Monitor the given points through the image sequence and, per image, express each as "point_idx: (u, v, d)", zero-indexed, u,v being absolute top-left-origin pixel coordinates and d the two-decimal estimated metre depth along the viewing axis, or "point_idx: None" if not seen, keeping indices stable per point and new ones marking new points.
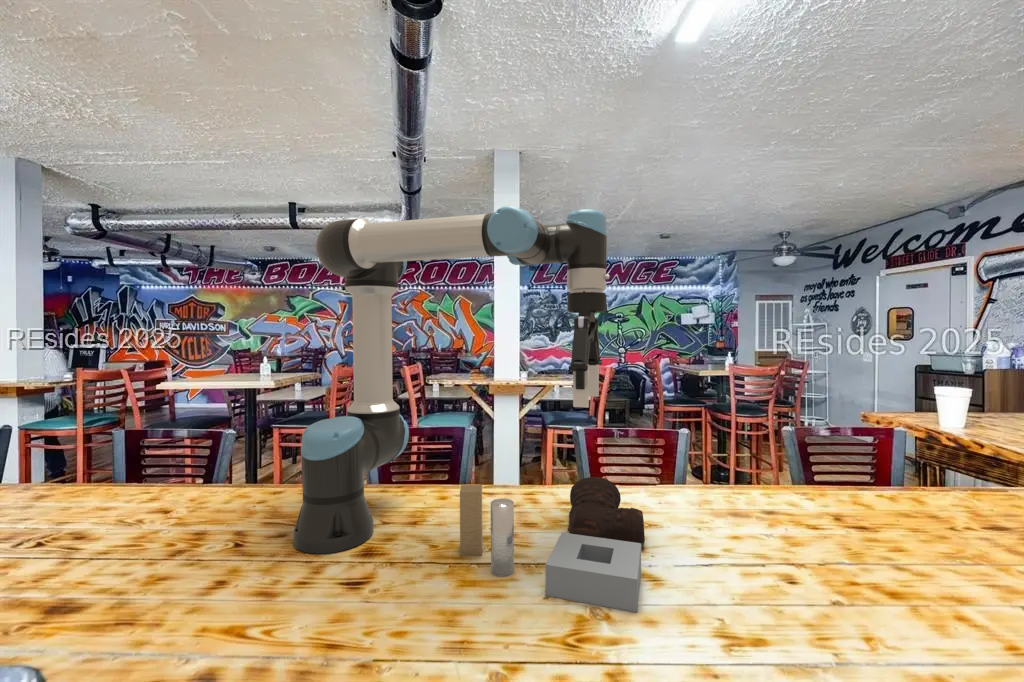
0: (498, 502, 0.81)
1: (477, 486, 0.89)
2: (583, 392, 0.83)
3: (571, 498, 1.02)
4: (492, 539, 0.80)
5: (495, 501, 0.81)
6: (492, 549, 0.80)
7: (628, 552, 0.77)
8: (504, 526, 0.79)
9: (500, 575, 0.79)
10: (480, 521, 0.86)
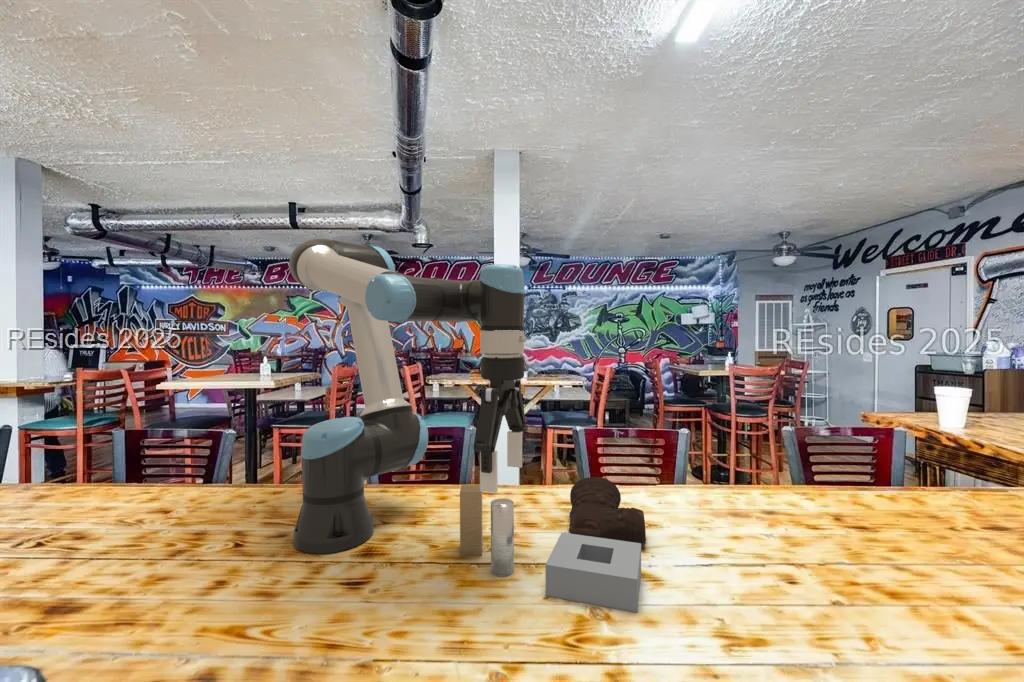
0: (498, 502, 0.81)
1: (477, 486, 0.89)
2: (490, 475, 0.73)
3: (571, 498, 1.02)
4: (492, 539, 0.80)
5: (495, 501, 0.81)
6: (492, 549, 0.80)
7: (628, 552, 0.77)
8: (504, 526, 0.79)
9: (500, 575, 0.79)
10: (480, 521, 0.86)
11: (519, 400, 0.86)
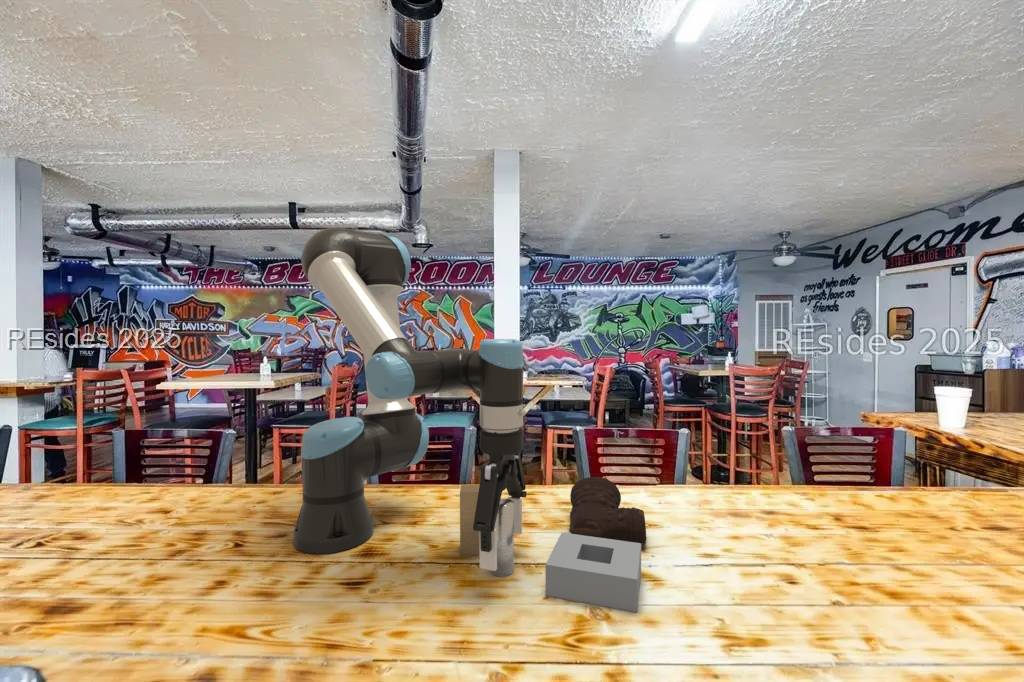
0: None
1: (477, 486, 0.89)
2: (490, 553, 0.74)
3: (571, 498, 1.02)
4: None
5: None
6: None
7: (628, 552, 0.77)
8: (504, 526, 0.79)
9: (500, 575, 0.79)
10: None
11: (519, 467, 0.86)
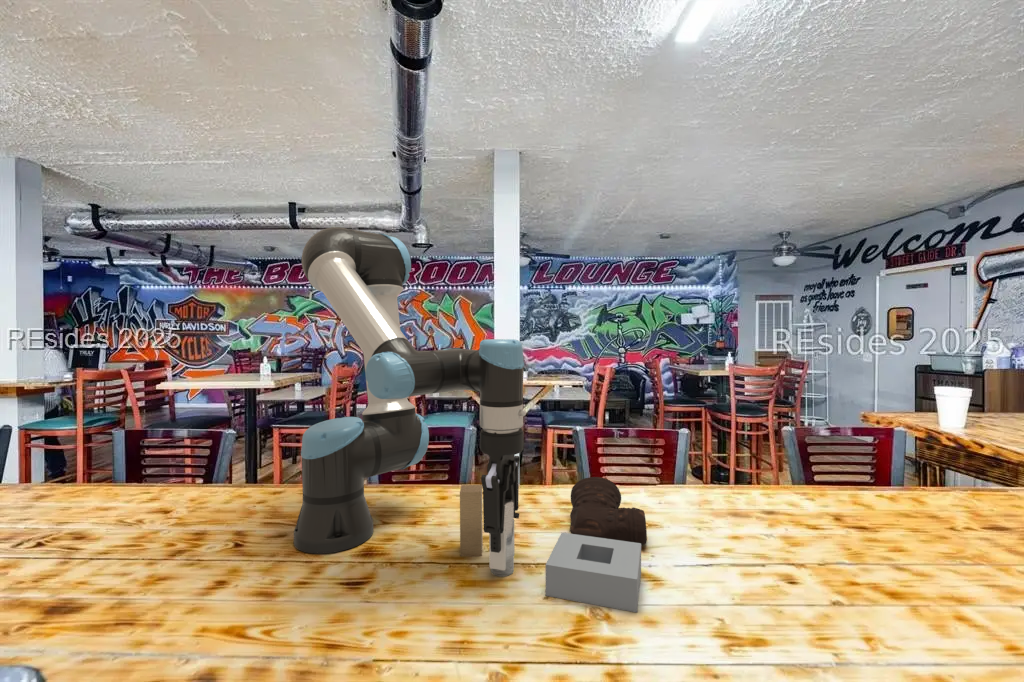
0: None
1: (477, 486, 0.89)
2: (499, 554, 0.78)
3: (572, 498, 1.02)
4: None
5: None
6: None
7: (628, 552, 0.77)
8: (504, 526, 0.79)
9: (500, 575, 0.79)
10: (480, 521, 0.86)
11: (515, 477, 0.85)
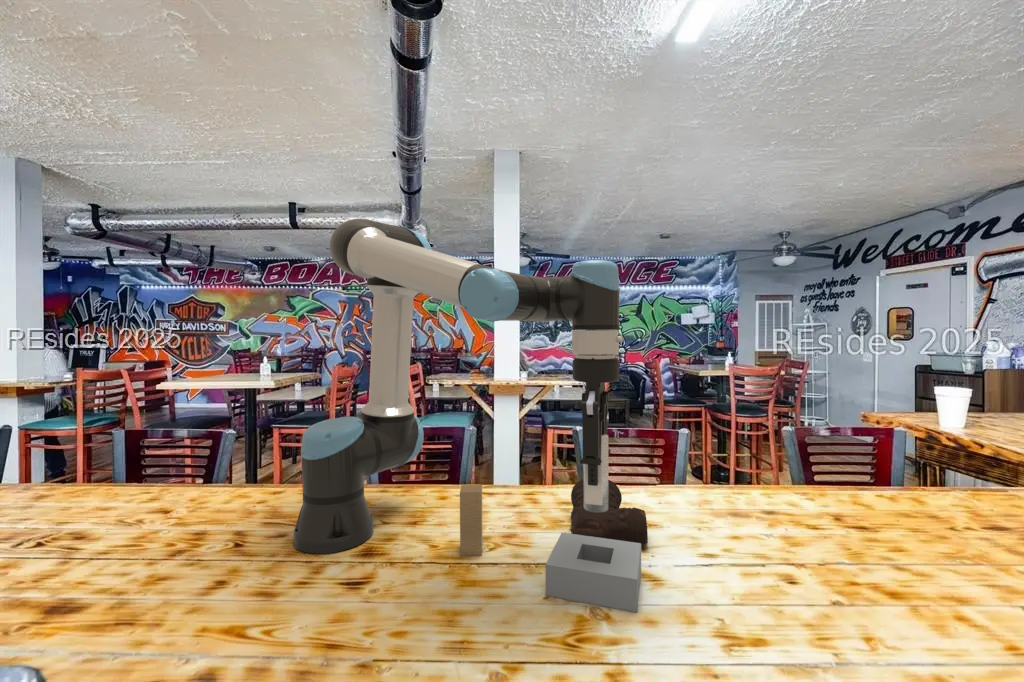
0: None
1: (477, 486, 0.89)
2: (596, 488, 0.73)
3: (572, 498, 1.02)
4: None
5: None
6: None
7: (628, 552, 0.77)
8: None
9: (596, 511, 0.74)
10: (480, 521, 0.86)
11: None
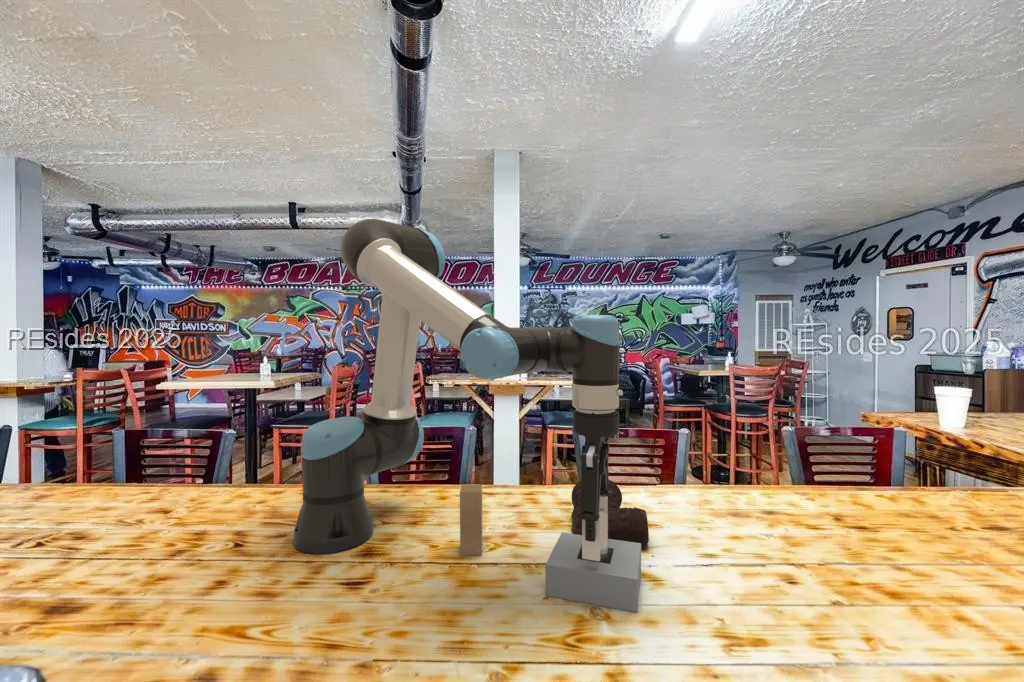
0: None
1: (477, 486, 0.89)
2: (594, 543, 0.71)
3: (573, 498, 1.02)
4: None
5: None
6: None
7: (628, 552, 0.77)
8: (600, 536, 0.74)
9: None
10: (480, 521, 0.86)
11: None
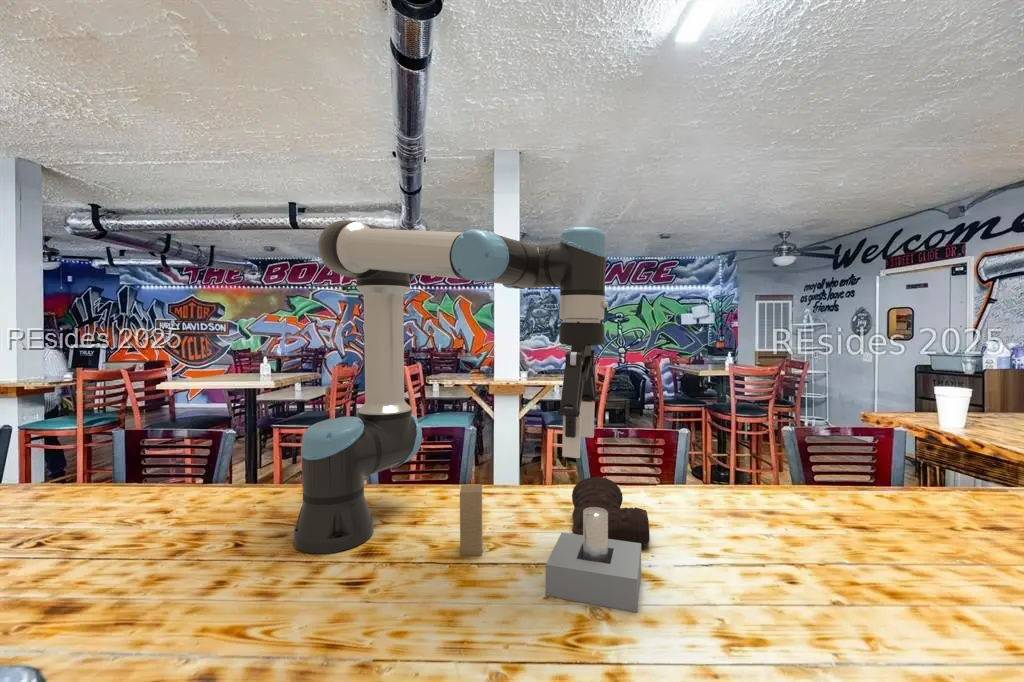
0: (591, 511, 0.77)
1: (477, 486, 0.89)
2: (574, 440, 0.72)
3: (573, 498, 1.02)
4: (586, 550, 0.75)
5: (587, 510, 0.77)
6: None
7: (628, 552, 0.77)
8: (600, 537, 0.74)
9: None
10: (480, 521, 0.86)
11: None
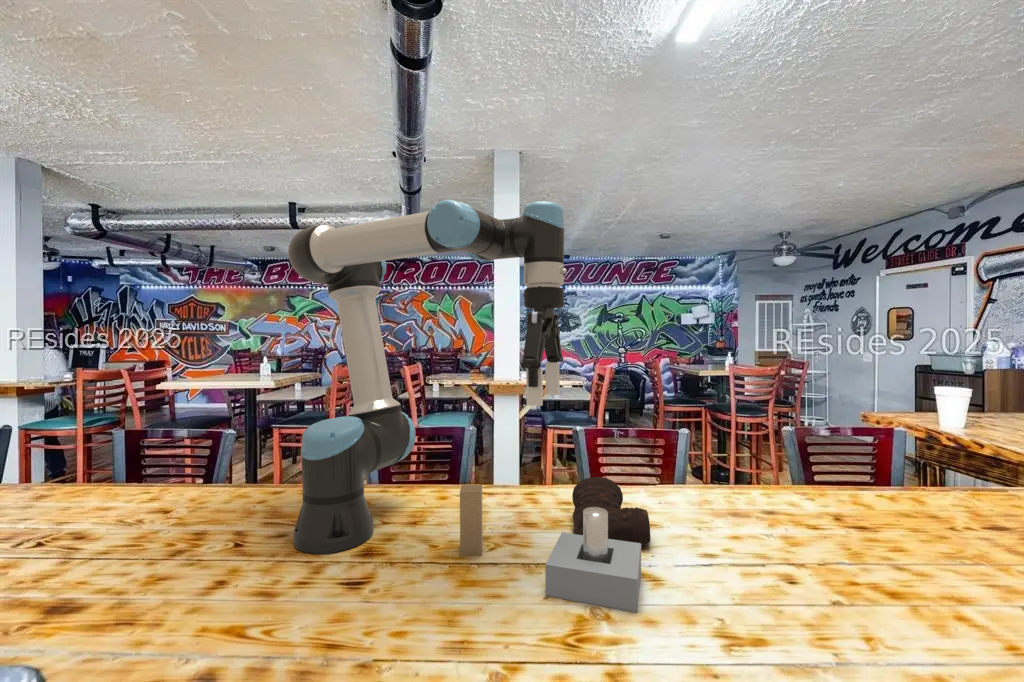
0: (591, 511, 0.77)
1: (477, 486, 0.89)
2: (536, 390, 0.81)
3: (574, 498, 1.02)
4: (586, 550, 0.75)
5: (587, 510, 0.77)
6: None
7: (628, 552, 0.77)
8: (600, 537, 0.74)
9: None
10: (480, 521, 0.86)
11: (557, 332, 0.93)
